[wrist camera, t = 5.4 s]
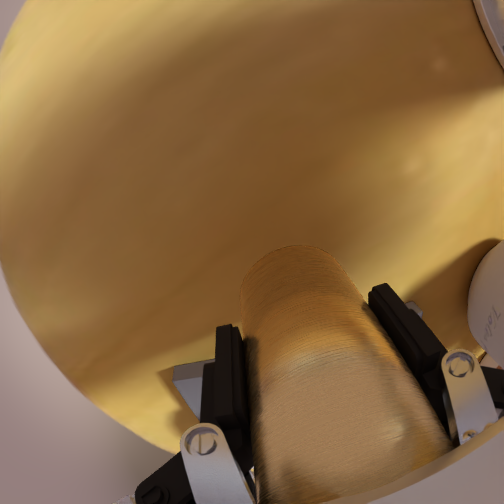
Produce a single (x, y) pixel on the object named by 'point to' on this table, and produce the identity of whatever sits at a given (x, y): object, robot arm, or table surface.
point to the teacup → (488, 304)
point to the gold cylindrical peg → (326, 386)
